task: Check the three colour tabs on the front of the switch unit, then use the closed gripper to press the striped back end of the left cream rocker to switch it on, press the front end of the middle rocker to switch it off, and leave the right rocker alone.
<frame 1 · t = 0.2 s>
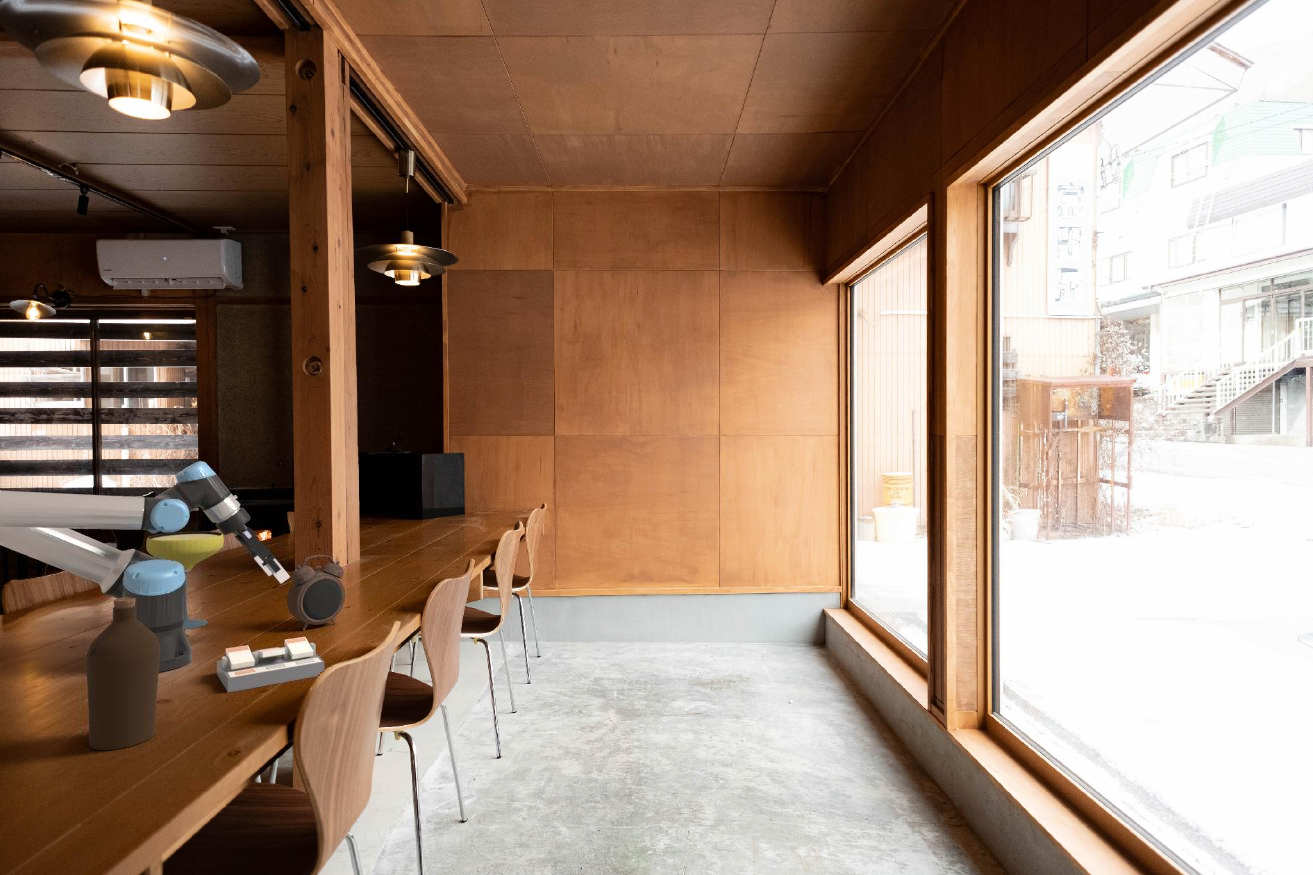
hand: (279, 576, 197), 15 cm above the table, tool tilted 35°, fingers open, 13 cm apart
olive oil: (123, 740, 129), on the table
cocktail glass: (184, 625, 203), on the table
alarm clock: (317, 627, 204), on the table
right switch: (298, 647, 169), point 5 cm above the table, hinge at 12.0°
switch unit: (270, 674, 164), on the table
left switch: (240, 656, 161), point 5 cm above the table, hinge at 12.0°
middle switch: (270, 652, 165), point 5 cm above the table, hinge at -12.0°
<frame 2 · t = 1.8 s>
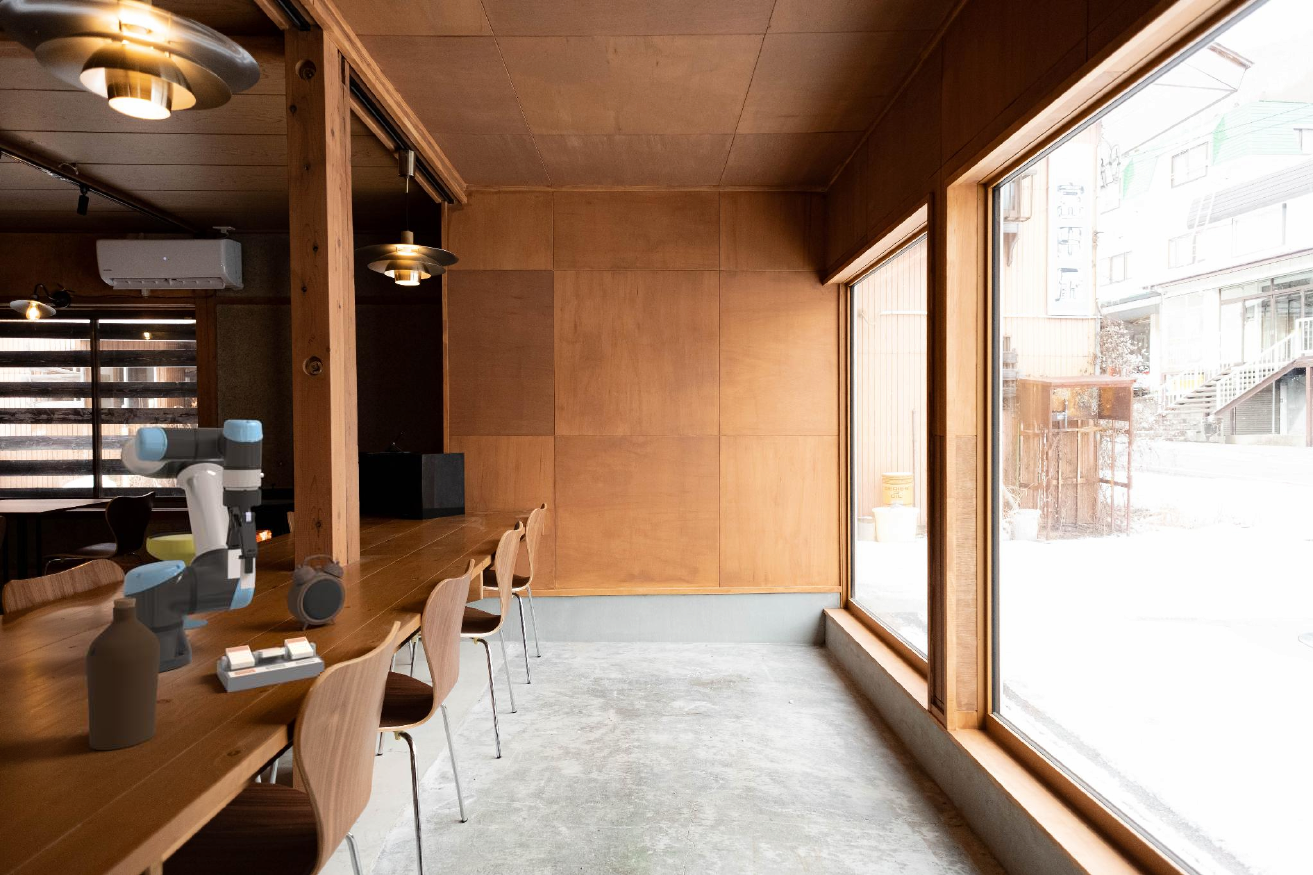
hand: (240, 582, 164), 21 cm above the table, tool pointing down, fingers open, 13 cm apart
nothing on the table moved.
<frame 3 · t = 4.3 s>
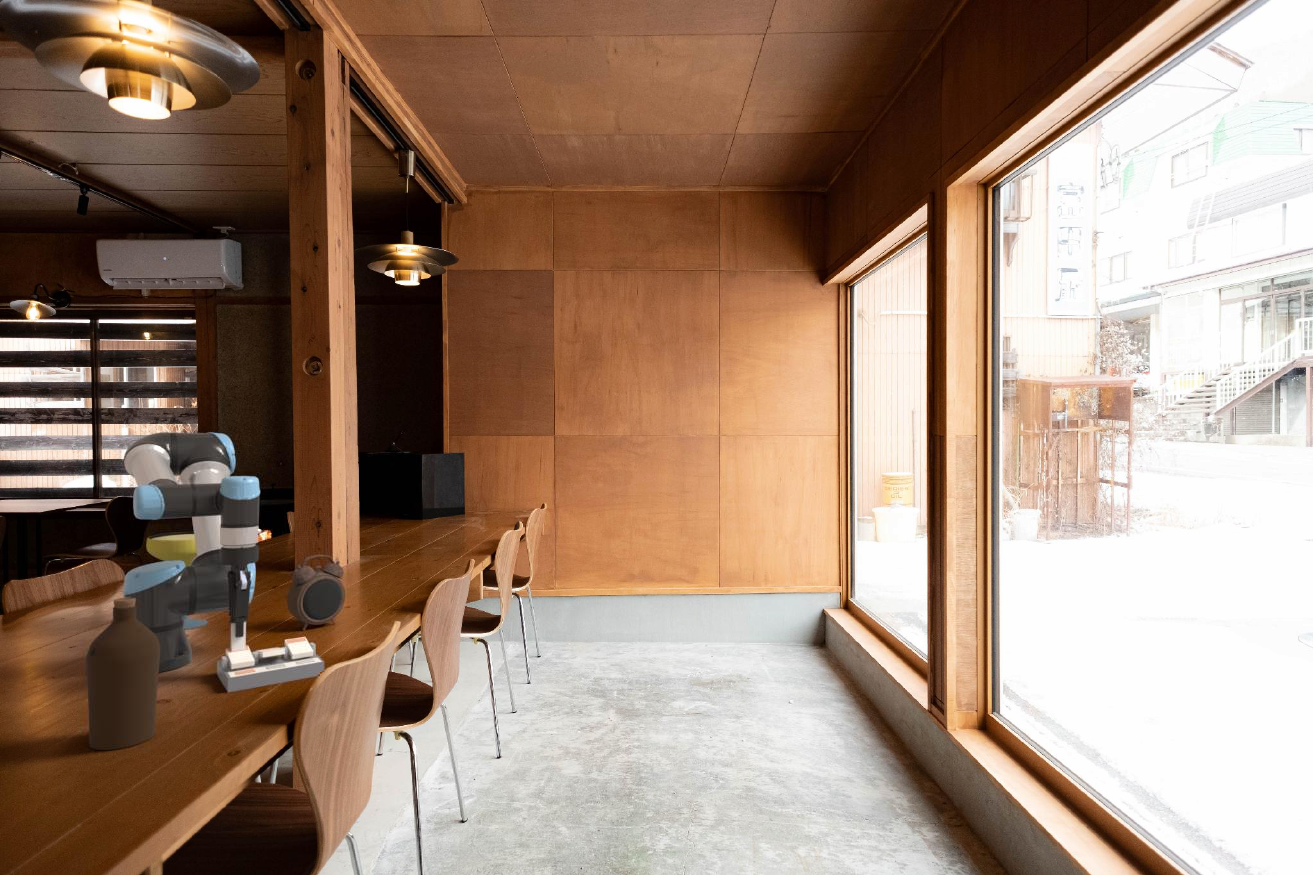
hand: (238, 650, 163), 6 cm above the table, tool pointing down, fingers closed
left switch: (240, 656, 161), point 5 cm above the table, hinge at 11.1°, touching gripper
everything else where it was.
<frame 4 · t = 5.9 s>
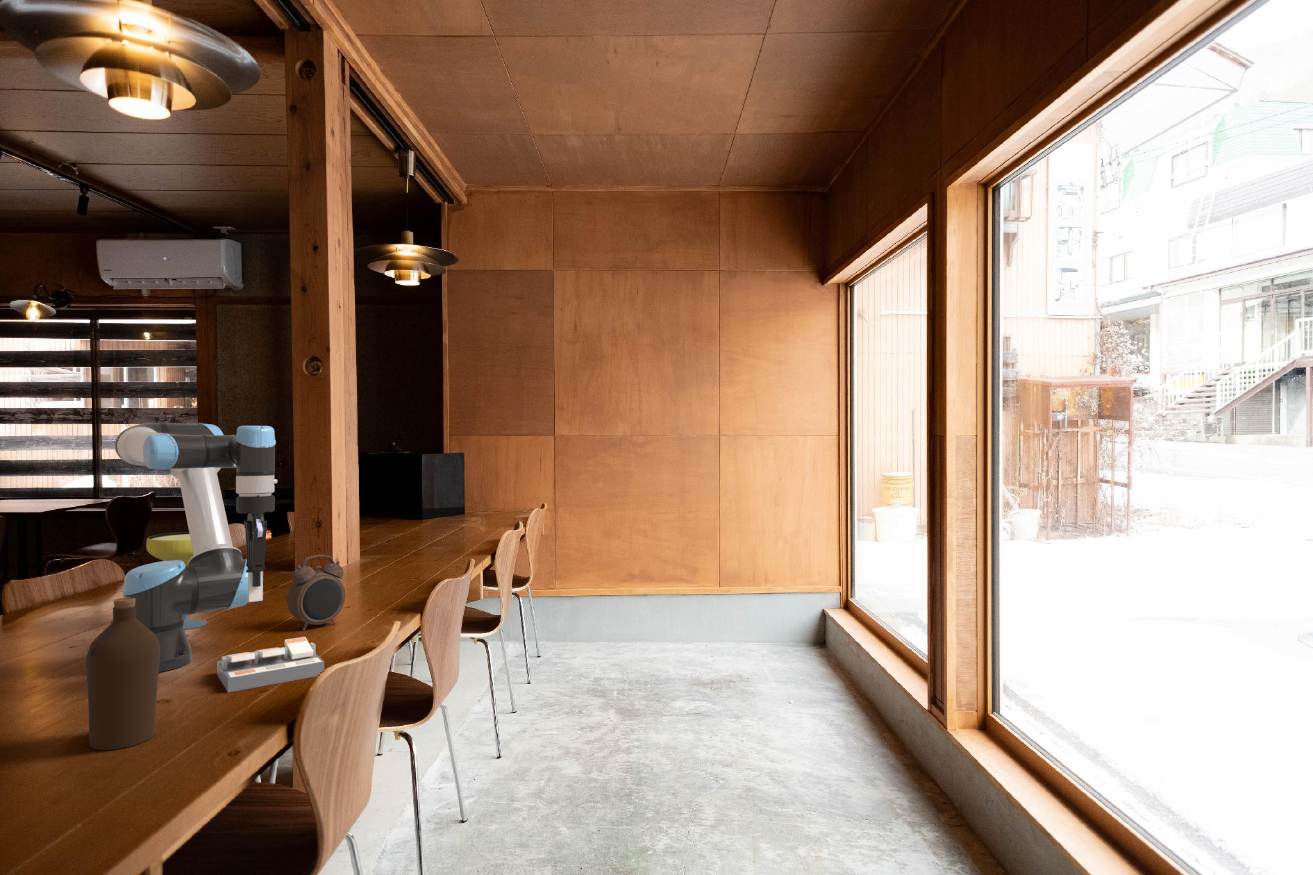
hand: (255, 600, 162), 17 cm above the table, tool pointing down, fingers closed
left switch: (240, 656, 161), point 5 cm above the table, hinge at -12.7°
everything else where it was.
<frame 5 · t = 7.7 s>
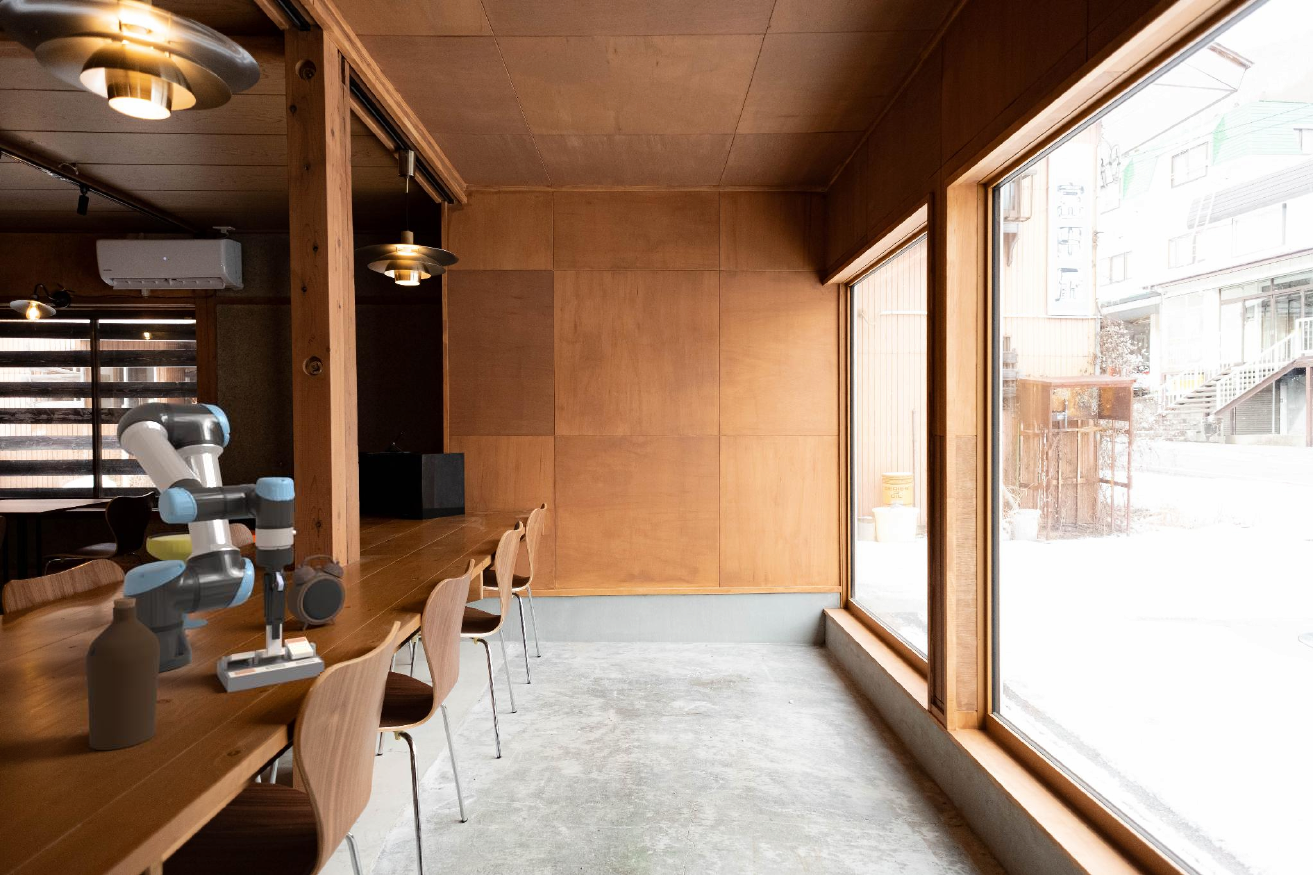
hand: (273, 652, 162), 6 cm above the table, tool pointing down, fingers closed
left switch: (240, 656, 161), point 5 cm above the table, hinge at -19.3°, touching switch unit
middle switch: (270, 652, 165), point 5 cm above the table, hinge at -11.7°, touching gripper
everything else where it was.
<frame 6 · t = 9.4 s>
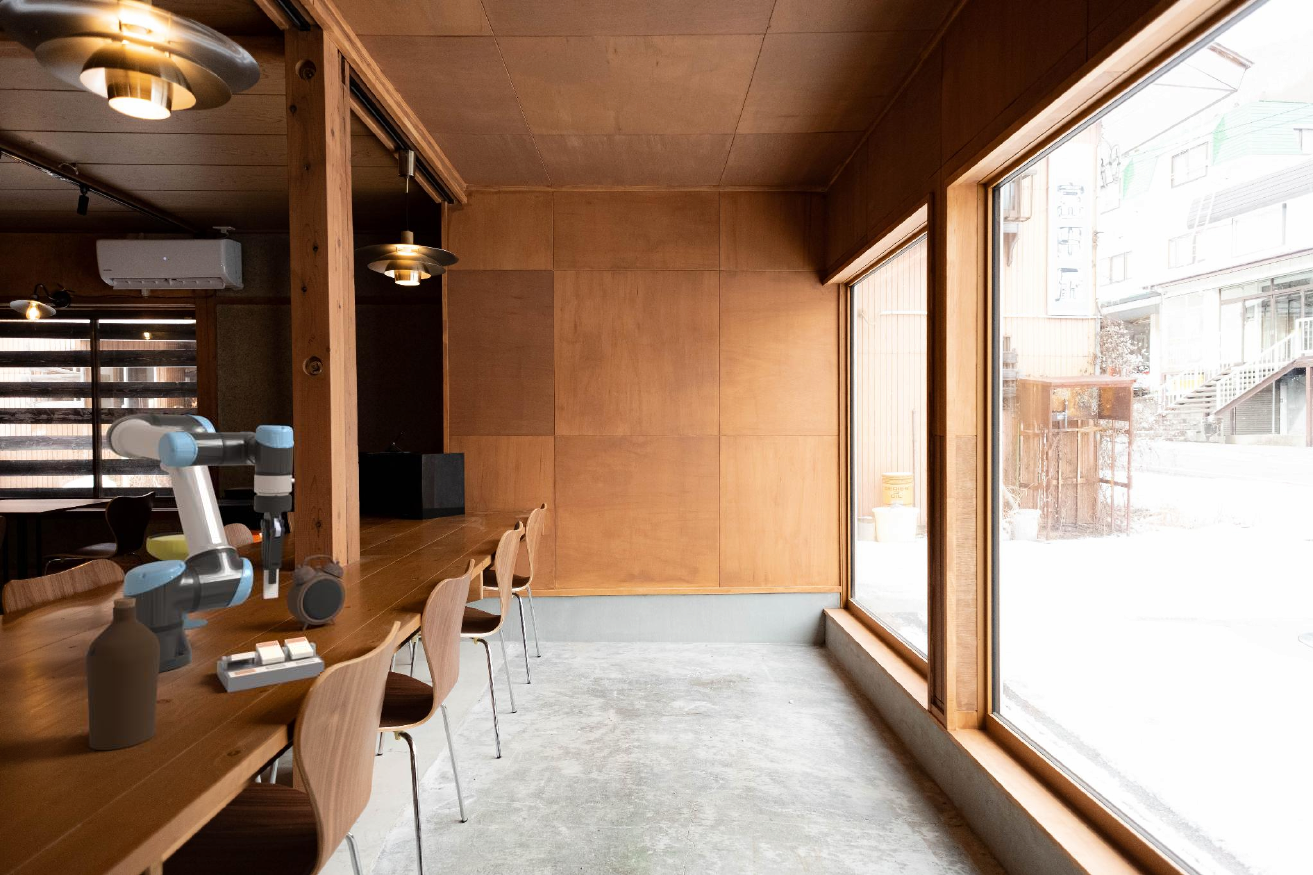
hand: (270, 597, 165), 17 cm above the table, tool pointing down, fingers closed
left switch: (240, 656, 161), point 5 cm above the table, hinge at -17.8°
middle switch: (270, 652, 165), point 5 cm above the table, hinge at 13.6°
everything else where it was.
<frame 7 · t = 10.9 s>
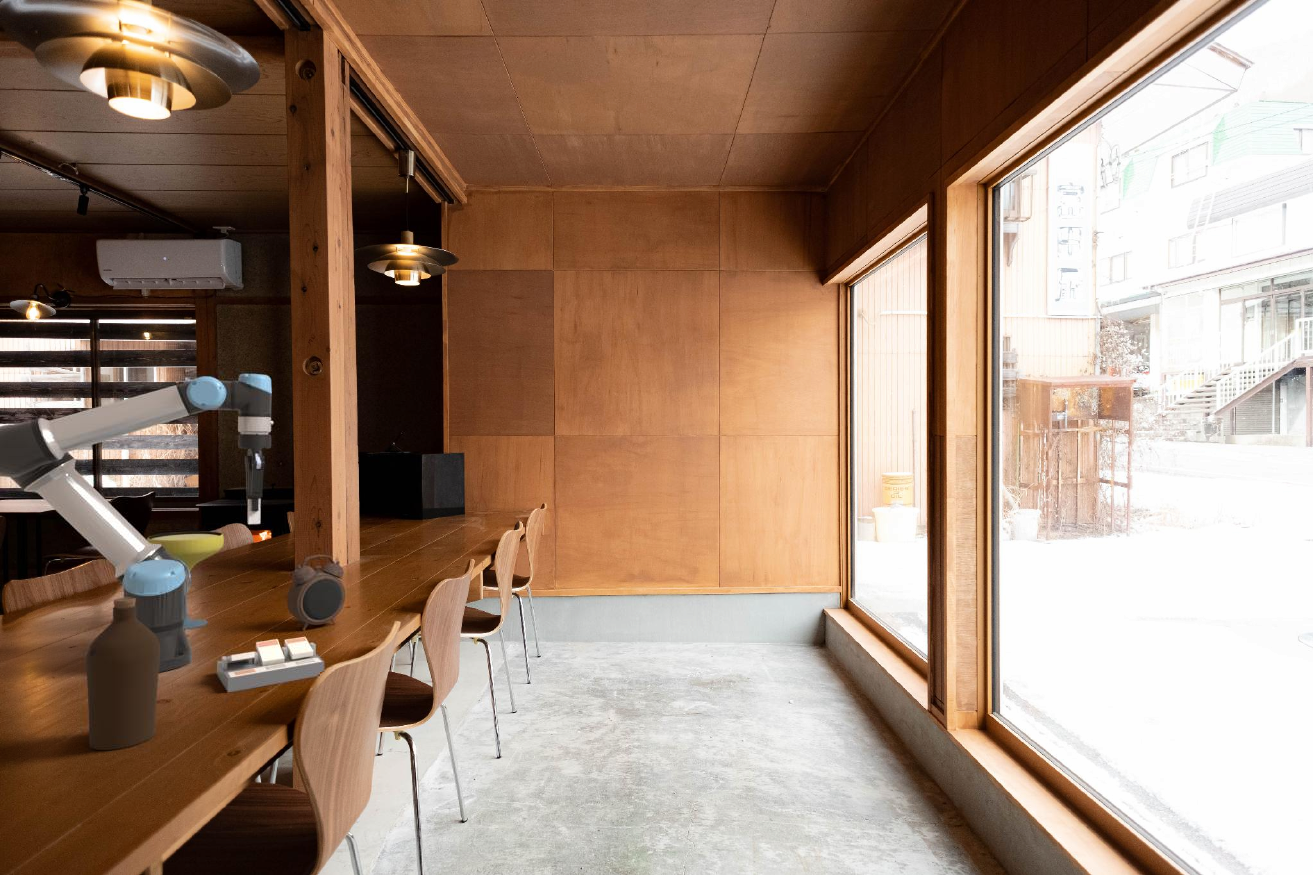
hand: (253, 523, 190), 30 cm above the table, tool pointing down, fingers closed
left switch: (240, 656, 161), point 5 cm above the table, hinge at -17.3°
middle switch: (270, 652, 165), point 5 cm above the table, hinge at 19.5°, touching switch unit
everything else where it was.
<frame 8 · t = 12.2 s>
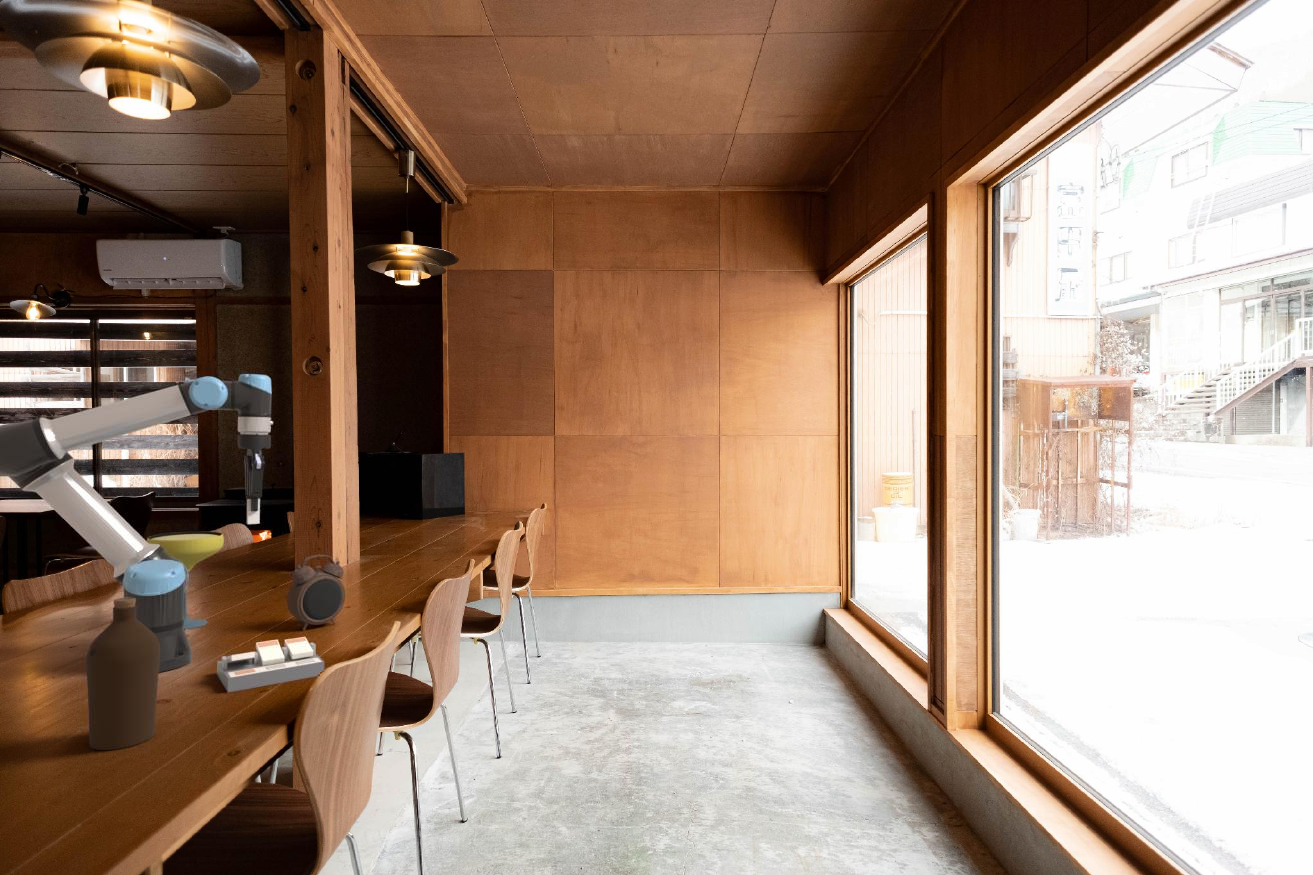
hand: (253, 523, 191), 30 cm above the table, tool pointing down, fingers closed
middle switch: (270, 652, 165), point 5 cm above the table, hinge at 18.0°
everything else where it was.
at the end: left switch at -17° (first picture: +12°); middle switch at +18° (first picture: -12°); right switch at +12° (first picture: +12°) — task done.
